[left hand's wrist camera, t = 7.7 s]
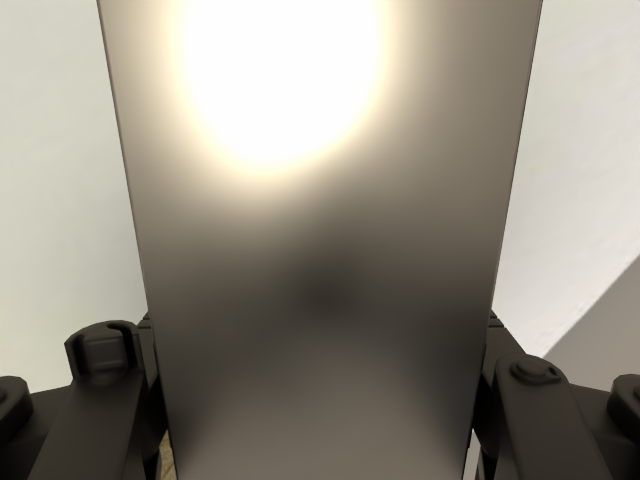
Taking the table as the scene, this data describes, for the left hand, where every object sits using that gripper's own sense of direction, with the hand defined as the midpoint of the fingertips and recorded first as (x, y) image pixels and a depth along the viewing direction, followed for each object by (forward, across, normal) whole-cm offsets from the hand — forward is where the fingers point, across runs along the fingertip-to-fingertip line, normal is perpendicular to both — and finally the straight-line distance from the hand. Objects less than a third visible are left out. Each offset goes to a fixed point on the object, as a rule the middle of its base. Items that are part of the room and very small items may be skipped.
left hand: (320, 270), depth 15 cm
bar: (+1, 0, -8) cm, 9 cm away
